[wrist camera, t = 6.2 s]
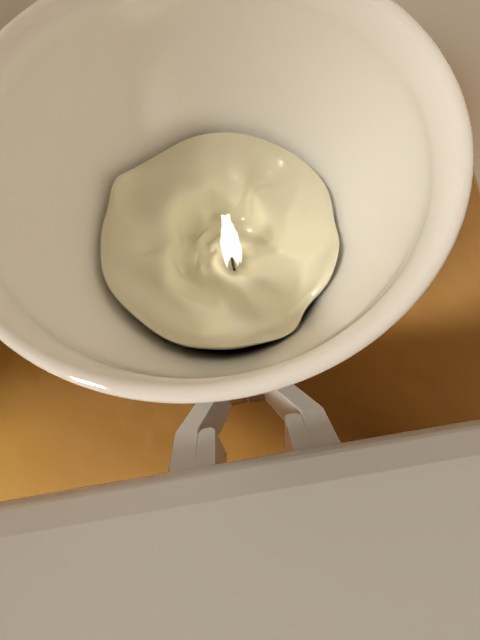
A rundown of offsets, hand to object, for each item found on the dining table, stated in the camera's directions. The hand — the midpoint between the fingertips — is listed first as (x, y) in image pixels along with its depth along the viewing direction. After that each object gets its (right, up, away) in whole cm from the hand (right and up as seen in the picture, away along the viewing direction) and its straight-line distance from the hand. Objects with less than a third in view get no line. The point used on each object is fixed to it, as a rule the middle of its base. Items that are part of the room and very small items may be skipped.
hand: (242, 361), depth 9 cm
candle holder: (-1, +4, +6) cm, 7 cm away
